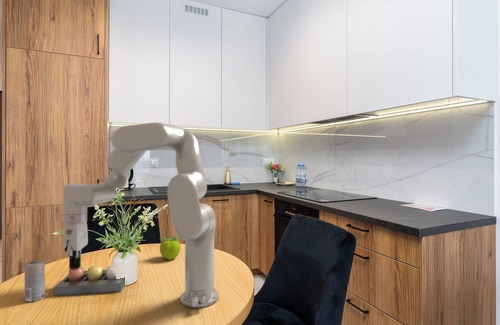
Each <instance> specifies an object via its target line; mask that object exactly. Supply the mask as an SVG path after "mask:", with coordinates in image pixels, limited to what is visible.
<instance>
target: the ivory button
mask: <svg viewBox="0 0 500 325" xmlns="http://www.w3.org/2000/svg"><path fill="white" fill-rule="evenodd" d="M106 270H107V280H113V279H116V276H115V274H116V269H114V268H113V267H112V265H108V267H106Z"/></svg>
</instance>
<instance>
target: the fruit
mask: <svg viewBox="0 0 500 325" xmlns="http://www.w3.org/2000/svg"><path fill="white" fill-rule="evenodd" d="M177 239H179V236H178V237H176V236H175V237H172V238H171V237H169V238H167V237H161V238H160V240H162V241H161V243H160V246H159V253H160V255H161V256H162V257H163V259H165V260H169V261H170V260H174V259H176V258H177V257H178V255H179V254H180V251H181V243H180V242H179V241H178V240H177Z"/></svg>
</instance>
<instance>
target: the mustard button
mask: <svg viewBox="0 0 500 325" xmlns="http://www.w3.org/2000/svg"><path fill="white" fill-rule="evenodd" d="M102 270H103V266H102V265H94V266H91V267H88V269H87V271H88V281H96V280H101V279H102Z"/></svg>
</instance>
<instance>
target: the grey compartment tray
mask: <svg viewBox="0 0 500 325" xmlns="http://www.w3.org/2000/svg"><path fill="white" fill-rule="evenodd" d="M125 285H126V284H125V277H124V278H120V279H113V280H107V269H102V279H101V280H96V281H88V270H83V280H82V281H78V282H69V274H67V275H66V276H65V277H64V278H63V279H61V280H60V281H59V282H58V283H57V284H56V285H55V286H53V296H54V295H64V296H77V295H78V294H79V295H91V294H107V293H121V292H122V290H123V289H124V287H125Z"/></svg>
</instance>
